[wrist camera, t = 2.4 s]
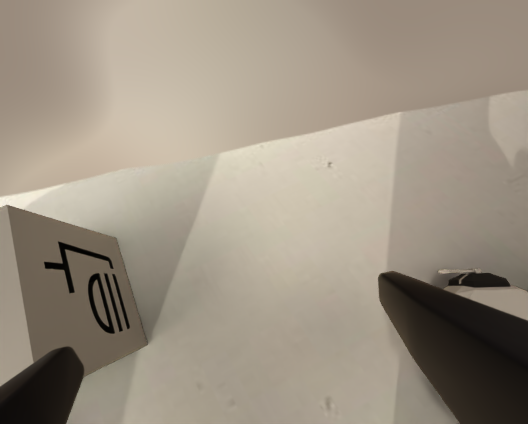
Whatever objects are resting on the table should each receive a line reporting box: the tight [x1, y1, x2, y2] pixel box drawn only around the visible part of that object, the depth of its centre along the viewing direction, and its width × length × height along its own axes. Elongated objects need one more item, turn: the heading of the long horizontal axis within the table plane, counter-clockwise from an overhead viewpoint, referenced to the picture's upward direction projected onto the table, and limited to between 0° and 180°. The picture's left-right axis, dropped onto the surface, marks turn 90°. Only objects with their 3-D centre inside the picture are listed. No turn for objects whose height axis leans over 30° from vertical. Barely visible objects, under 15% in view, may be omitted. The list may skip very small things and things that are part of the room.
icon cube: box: [0, 205, 147, 386], centre depth 16 cm, size 10×10×10 cm
